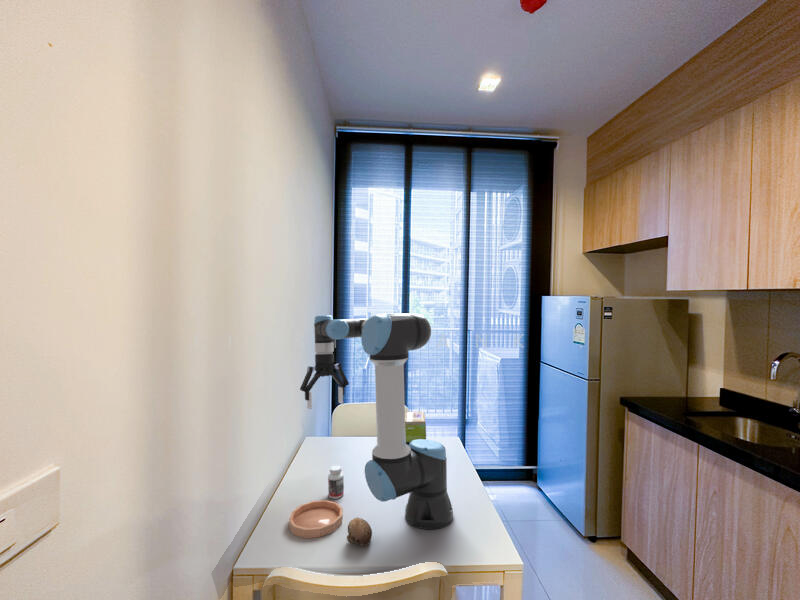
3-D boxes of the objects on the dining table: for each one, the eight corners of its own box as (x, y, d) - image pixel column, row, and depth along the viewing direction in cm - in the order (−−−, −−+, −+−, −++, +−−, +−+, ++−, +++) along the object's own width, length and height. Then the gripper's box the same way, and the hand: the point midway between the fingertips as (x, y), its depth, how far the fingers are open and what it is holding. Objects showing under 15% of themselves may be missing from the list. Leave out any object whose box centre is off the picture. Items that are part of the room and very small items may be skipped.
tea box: (405, 441, 183) (404, 411, 183) (425, 441, 182) (425, 411, 183) (404, 453, 168) (404, 420, 168) (426, 453, 167) (426, 420, 168)
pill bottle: (325, 496, 131) (324, 468, 131) (337, 490, 135) (336, 463, 135) (335, 501, 127) (334, 472, 128) (346, 494, 132) (346, 467, 132)
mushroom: (336, 531, 105) (349, 514, 105) (353, 529, 111) (365, 512, 111) (350, 557, 99) (364, 538, 99) (368, 552, 106) (381, 535, 106)
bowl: (351, 524, 113) (351, 516, 114) (301, 544, 104) (301, 536, 104) (329, 502, 126) (329, 495, 127) (282, 518, 117) (282, 511, 117)
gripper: (347, 350, 161) (348, 399, 160) (291, 355, 147) (292, 409, 145) (355, 351, 155) (357, 402, 154) (297, 356, 141) (298, 412, 139)
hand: (325, 405), depth 149 cm, fingers open, 13 cm apart
